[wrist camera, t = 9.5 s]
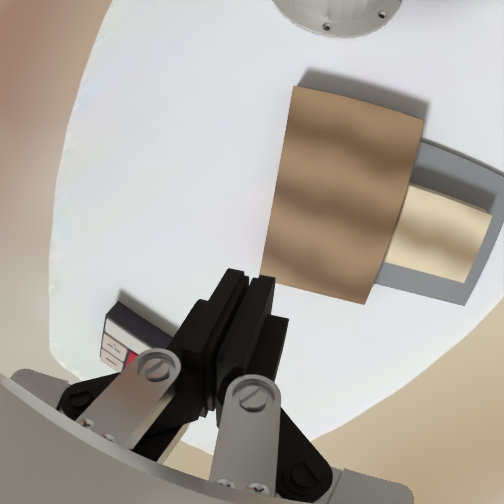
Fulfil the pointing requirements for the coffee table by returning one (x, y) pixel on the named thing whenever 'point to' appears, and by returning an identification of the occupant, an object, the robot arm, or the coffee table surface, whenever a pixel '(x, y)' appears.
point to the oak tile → (437, 233)
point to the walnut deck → (337, 193)
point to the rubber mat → (461, 187)
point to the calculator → (128, 337)
